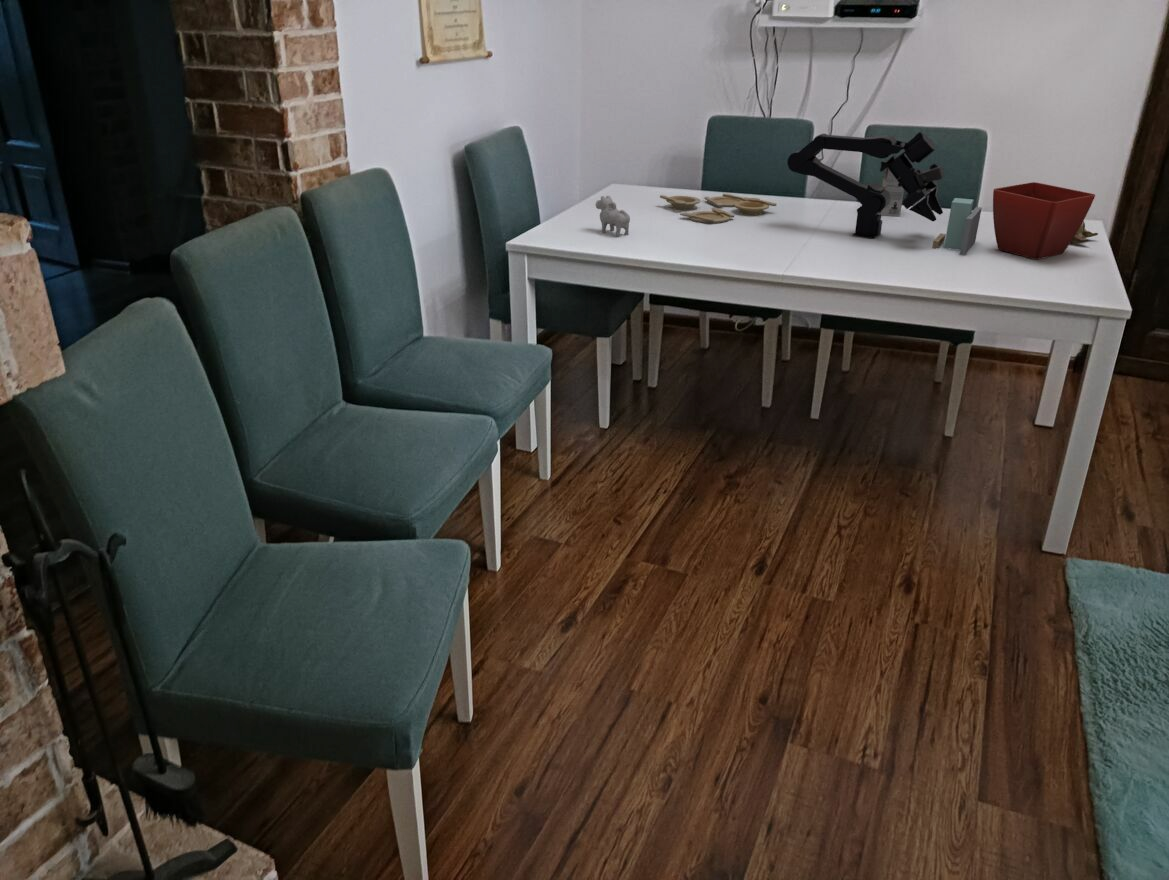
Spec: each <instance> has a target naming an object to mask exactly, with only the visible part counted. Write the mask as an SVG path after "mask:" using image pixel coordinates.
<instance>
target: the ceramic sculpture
mask: <svg viewBox="0 0 1169 880" xmlns="http://www.w3.org/2000/svg"><path fill="white" fill-rule="evenodd" d="M1098 235H1099V233H1098V232H1091V231H1089V230H1087V229H1086V223H1085V220H1084V221H1083V223H1082V224H1081V226H1080V228H1079V230H1078V231H1077V233H1076V235H1075V236H1074V238H1073V239H1072V241H1071V242H1070V243H1075V244H1082V243H1088V242H1090V239H1089V238H1092V237H1095V236H1098Z"/></svg>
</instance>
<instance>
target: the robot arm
mask: <svg viewBox="0 0 1169 880" xmlns="http://www.w3.org/2000/svg"><path fill="white" fill-rule="evenodd" d="M823 150H829V151H830V150H833V151H843V152H845V151H846V152H855V153H861V154H864V155H865V154H866V155H867V156H870V157H874V158H878V159H886V158H888V157H890V156H891V155H892V156H891V157H890V158H888V159H886V160H887V161H886V160H882V161H880V167H879V171H880V172H881V173H882V172H884V170H885V169H886V168H888V169H889V171H890V172H891V173H892V174H893V176H894V177H895V178H896V180H897V179H898V180H897V181H898V182H899V183H898V184H897V185H898V186H899V187H900V186H902V188H903V189H904V193H906V195H905V198H903V200H902V205H903V206H904V208H905V209H906V210H909V211H911V212H913V213H915V214H917V215H919V216H921V217H923V218H925V219H928V220H929V221H930V222H935V221H936V220H937V217H936V215H935V213H936V214H938V215H939V216H941V215H942V214H943V213H944V211H943V209H942V206H941V204H940V201H939V199H938V190H939V186H938V185H939V183H938V181H939V180H941V179H943V178H944V177H945V173H944V167H943V166H942V165H939V164H938V163H937V162H935V163H933V164H931V165H930V166H929V169H926V170H924V171H922V170H921V169H920V168H916V167H915V166H914V163H917V164H920V163H921V162H923V161H924V160H925V159H926V158H928V157H929V156H930V155H931V154H933V153H934V152H935V151H937V147H936V144H935V143H934V142H933V140H932V139H931V138H929V137H928V136H927V135H926V134H925V133H924V132H923V131H922V130H921V131H919V132H917V134H915V136H913V138H911V139H910V140H909V141H908V142H907V141H901V140H897V138H895V136H894V135H891V134H883V135H875V136H870V137H868V136H867V137H861V136H859V137H858V136H848V135H847V136H846V135H834V134H826V133H821V134H819V135H816V136H815V137H814V138H813V140H811V141H810V142H809V143H807V145H804V147H802V149H800V150H796V151H795V152H793V153H791V154H790V155H789V156H788V158H787V161H786V162H787V168H788V170H790V171H791V172H793V173H796V174H800V175H803V176H809V177H814V178H817V179H818V180H820V181H822V182H824V183H826V184H828V185H830V186H832V187H834V188H836V189H838V190H840V191H841V192H843V193H846V194H847V195H850V196H851V197H853V198H855V199H856V201H858V202H859V203H860V204H861V206H859V207H858V208H857V209H856V213H857V216H856V221H855V224H856V225H855V228H854V229H855V230H854V232H853V233H852V236H854V237H862V238H867V239H874V238H876V237H879V236H881V235H882V233H881V232H882V227H883V226H882V225H883V220H882V216H881V215H880V212H881V211H882V210H883V209H884V208H885V207H886V206H888V204H889V203H890V200H891V196H890V193H889V192H888V191H887V190H886V189H885V188H886V187H883V186H882V185H880V184H878V183H877V182H876V181H872V182H871V183H870V182H869V184H864V183H862V182H860V181H858V180H856V179H854V178H852V177H850V176H848V175H846V174H844V173H843V172H841V171H838V170H836V169H834V168H832V167H830V166H828V165H827V164H825V163H823V162H822V161H821V160H820V159H819V158H818V155H819V153H821V152H822V151H823ZM903 150H904V151H903ZM901 151H903V152H902V153H901V154H900V155H897V154H898V153H900V152H901Z"/></svg>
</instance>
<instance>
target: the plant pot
mask: <svg viewBox="0 0 1169 880" xmlns="http://www.w3.org/2000/svg"><path fill="white" fill-rule="evenodd" d="M992 194H993V195H992V197H993V198H992V215H993V217H992V218H993V229H994V235H995V242H996V245H997V246H996V247H997V249H998V250H999V251H1004V252H1008V253H1012V254H1015V255H1018V256H1022V257H1025V258H1029V259H1031V260H1041V259H1045V258H1049V257H1054V256H1057V255H1058V256H1059V255H1062V254H1064V252H1065V251H1066V250H1067V249H1068V247H1069V245H1070V243H1072V242H1071V241H1072V239H1073V238H1074V236H1075V235H1076V233H1077V231H1078V230H1079V228H1080V226H1081V224H1082V223H1083V221H1084V222H1085V218H1086V217H1087V215H1088V213H1089V211H1090V209H1091V207H1092V204H1093V201H1094V200H1095V197H1096V193H1095V194H1094V193H1090V192H1085V191H1080V190H1077V189H1071V188H1066V187H1061V186H1057V185H1051V184H1048V183H1047V184H1046V183H1041V182H1035V181H1034V182H1033V181H1032V182H1026V183H1019V184H1015V185H1009V186H1003V187H996V188H993V193H992Z"/></svg>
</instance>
